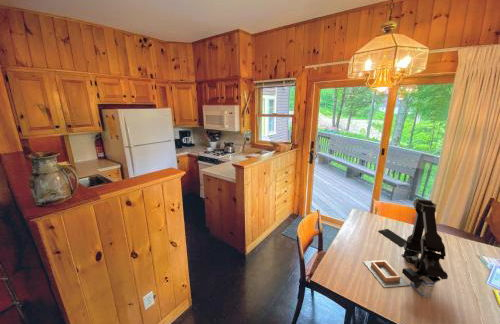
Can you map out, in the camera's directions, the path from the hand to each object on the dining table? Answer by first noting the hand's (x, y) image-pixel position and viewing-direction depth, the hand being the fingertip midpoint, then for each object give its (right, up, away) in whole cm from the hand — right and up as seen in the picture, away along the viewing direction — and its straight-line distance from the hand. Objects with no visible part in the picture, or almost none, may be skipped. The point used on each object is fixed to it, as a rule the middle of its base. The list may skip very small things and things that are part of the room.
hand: (421, 287), depth 102 cm
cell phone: (+15, +9, +41) cm, 45 cm away
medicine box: (0, -2, +1) cm, 2 cm away
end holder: (-11, +1, +11) cm, 16 cm away
